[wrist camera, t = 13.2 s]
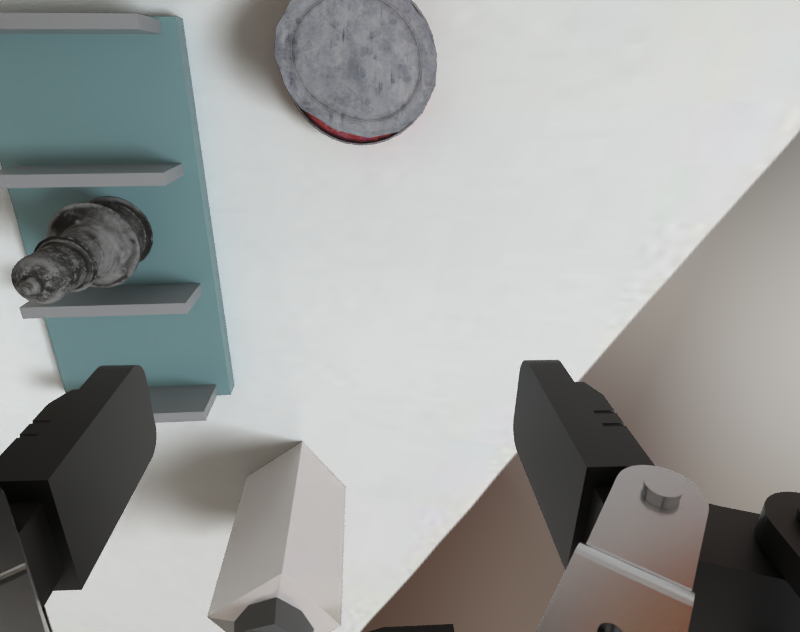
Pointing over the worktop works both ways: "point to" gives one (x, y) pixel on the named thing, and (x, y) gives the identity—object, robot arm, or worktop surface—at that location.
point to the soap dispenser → (284, 550)
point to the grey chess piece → (85, 250)
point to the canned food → (357, 65)
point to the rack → (118, 194)
